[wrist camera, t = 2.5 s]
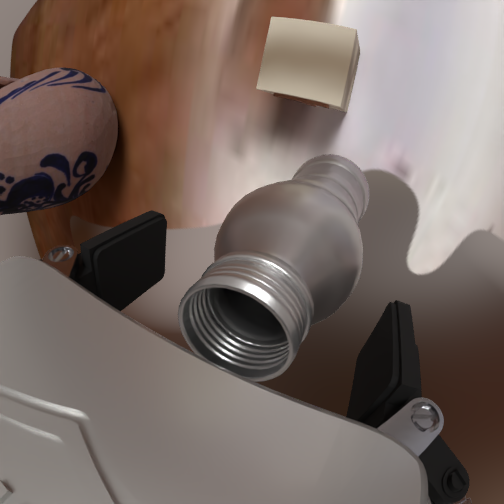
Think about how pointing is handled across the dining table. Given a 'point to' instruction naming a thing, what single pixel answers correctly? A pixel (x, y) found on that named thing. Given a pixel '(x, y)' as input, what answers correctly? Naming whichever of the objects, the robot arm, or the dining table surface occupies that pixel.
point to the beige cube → (310, 62)
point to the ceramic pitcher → (53, 138)
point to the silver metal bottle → (278, 269)
